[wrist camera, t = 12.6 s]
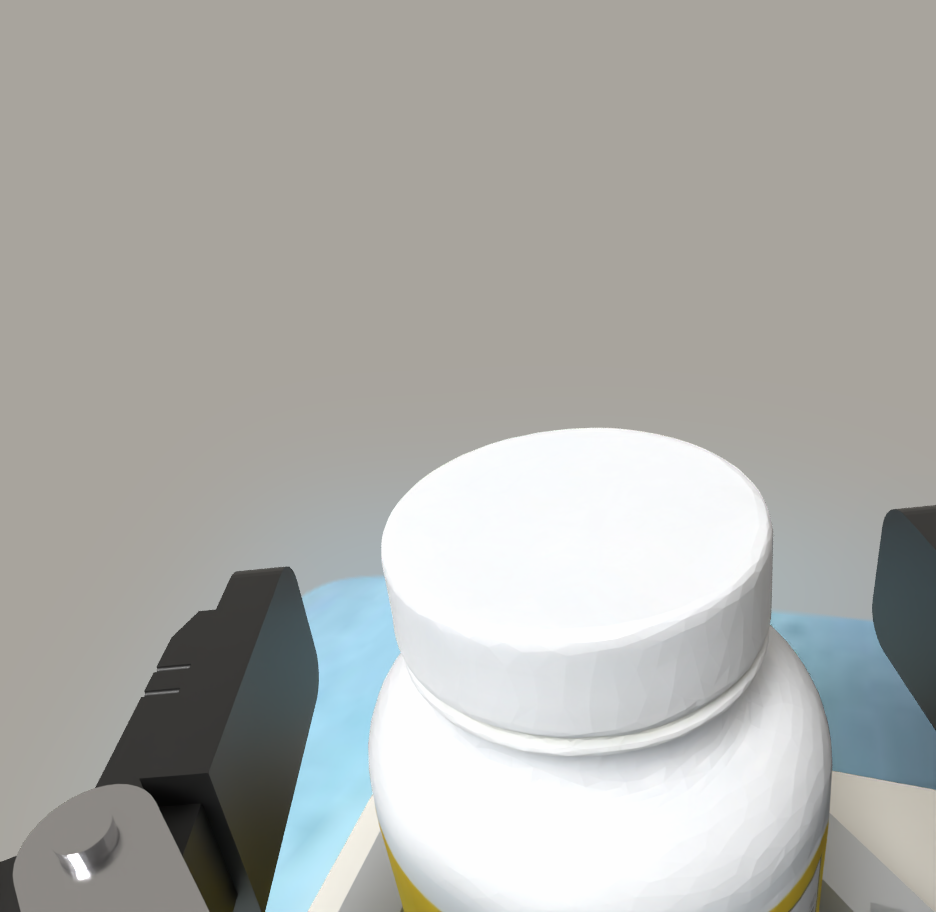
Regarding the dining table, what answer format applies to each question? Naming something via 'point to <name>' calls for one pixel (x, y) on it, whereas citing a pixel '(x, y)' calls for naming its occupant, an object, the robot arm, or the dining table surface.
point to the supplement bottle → (594, 688)
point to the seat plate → (849, 804)
